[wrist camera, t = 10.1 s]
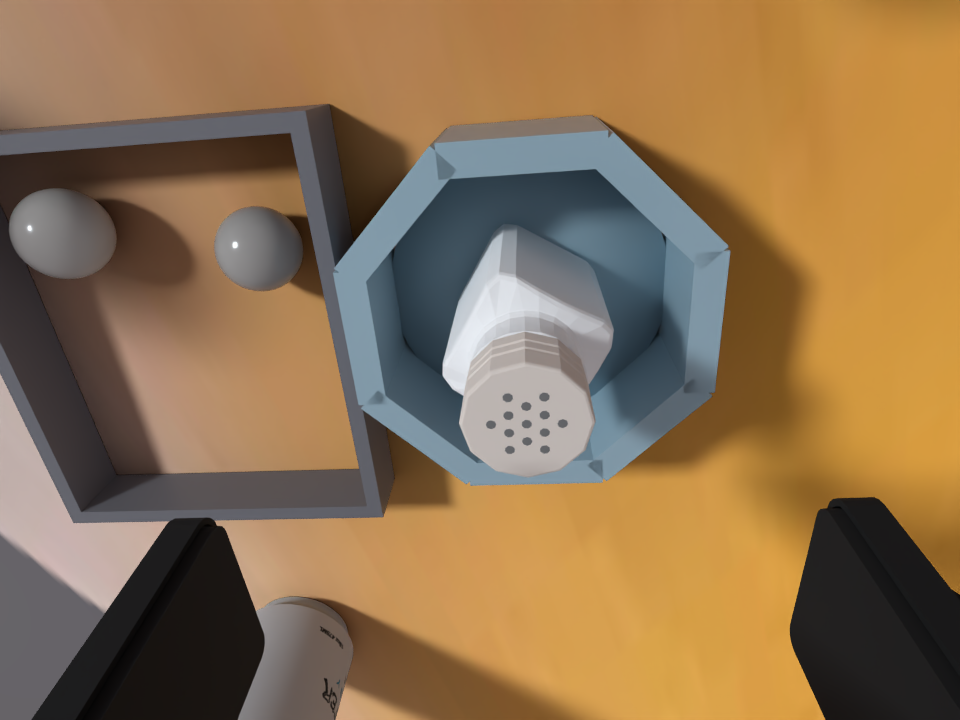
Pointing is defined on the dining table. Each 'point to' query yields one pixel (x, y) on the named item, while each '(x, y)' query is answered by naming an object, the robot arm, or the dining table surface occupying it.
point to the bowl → (573, 227)
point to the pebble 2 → (258, 248)
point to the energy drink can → (299, 662)
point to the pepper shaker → (527, 353)
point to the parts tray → (60, 405)
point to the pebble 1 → (62, 233)
